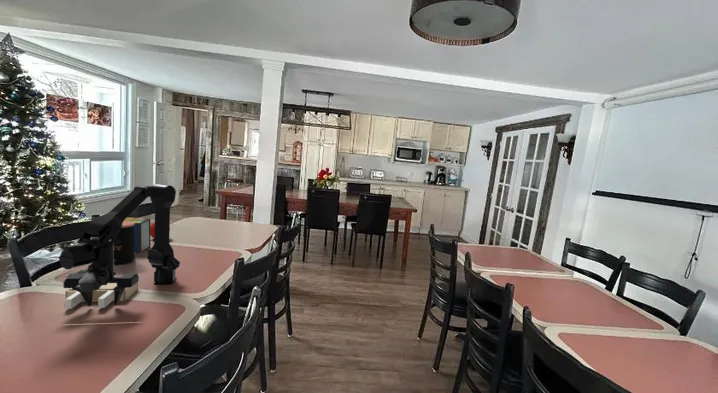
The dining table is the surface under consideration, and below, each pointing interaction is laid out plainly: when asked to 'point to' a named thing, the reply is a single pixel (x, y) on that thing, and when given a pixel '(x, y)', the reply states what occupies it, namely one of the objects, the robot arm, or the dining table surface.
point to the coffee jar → (125, 244)
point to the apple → (153, 230)
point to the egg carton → (77, 272)
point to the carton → (110, 286)
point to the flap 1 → (73, 299)
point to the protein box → (141, 233)
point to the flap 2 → (109, 298)
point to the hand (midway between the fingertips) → (103, 305)
